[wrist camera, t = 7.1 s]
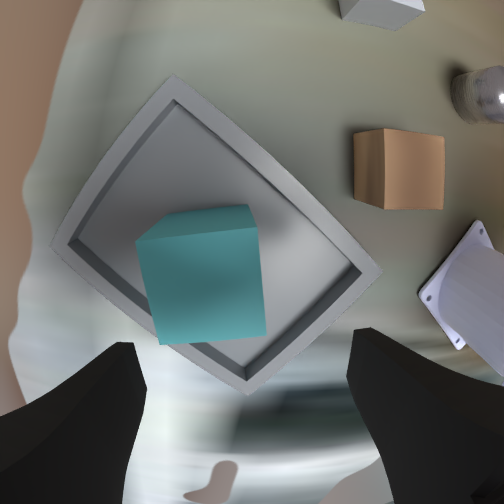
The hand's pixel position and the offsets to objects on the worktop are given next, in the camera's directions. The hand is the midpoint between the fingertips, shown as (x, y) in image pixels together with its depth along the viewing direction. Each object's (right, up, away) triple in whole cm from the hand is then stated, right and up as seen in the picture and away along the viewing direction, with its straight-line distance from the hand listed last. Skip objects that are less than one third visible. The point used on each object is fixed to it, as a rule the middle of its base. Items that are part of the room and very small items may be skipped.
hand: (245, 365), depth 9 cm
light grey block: (+8, +20, +4) cm, 22 cm away
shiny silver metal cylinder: (+16, +15, +6) cm, 23 cm away
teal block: (-2, +4, +8) cm, 9 cm away
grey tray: (-2, +4, +8) cm, 9 cm away
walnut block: (+8, +9, +8) cm, 14 cm away
